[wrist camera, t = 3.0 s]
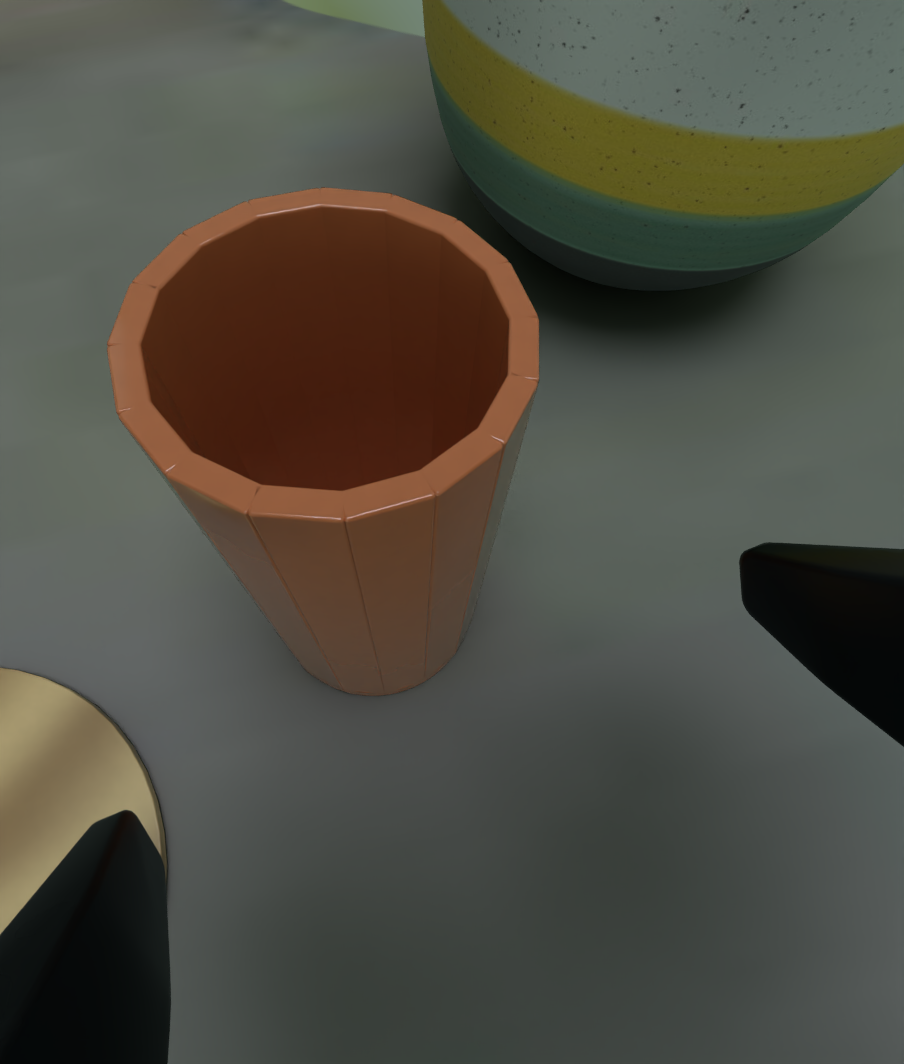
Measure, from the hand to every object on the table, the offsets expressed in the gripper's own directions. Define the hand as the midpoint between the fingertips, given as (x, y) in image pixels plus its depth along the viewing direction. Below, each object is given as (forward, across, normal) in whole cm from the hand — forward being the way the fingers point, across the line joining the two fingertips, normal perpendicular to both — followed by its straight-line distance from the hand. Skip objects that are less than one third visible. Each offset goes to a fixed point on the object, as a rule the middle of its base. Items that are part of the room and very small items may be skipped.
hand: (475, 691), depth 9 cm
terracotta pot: (+12, 0, +4) cm, 13 cm away
